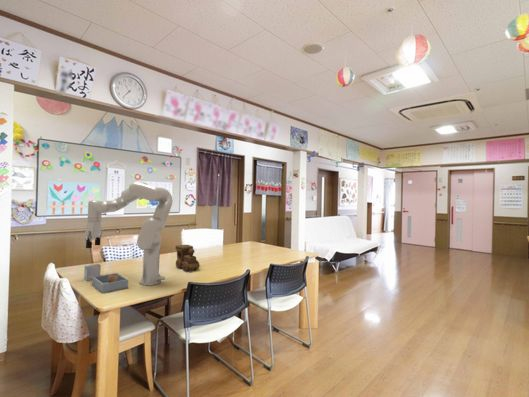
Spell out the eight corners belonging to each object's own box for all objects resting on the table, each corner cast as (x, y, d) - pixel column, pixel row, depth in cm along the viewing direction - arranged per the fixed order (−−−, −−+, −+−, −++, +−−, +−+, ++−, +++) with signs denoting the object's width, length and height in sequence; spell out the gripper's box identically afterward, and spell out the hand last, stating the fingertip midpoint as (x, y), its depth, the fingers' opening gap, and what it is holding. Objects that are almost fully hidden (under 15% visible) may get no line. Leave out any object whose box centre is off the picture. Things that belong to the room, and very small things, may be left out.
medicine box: (97, 276, 181) (98, 263, 181) (100, 278, 178) (100, 264, 178) (83, 279, 175) (84, 265, 174) (86, 280, 172) (86, 267, 172)
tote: (92, 285, 164) (92, 277, 164) (116, 280, 174) (116, 272, 174) (102, 293, 152) (102, 284, 152) (127, 288, 162) (128, 279, 162)
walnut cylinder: (118, 286, 163) (119, 274, 163) (115, 289, 158) (116, 277, 158) (109, 286, 162) (110, 274, 162) (106, 289, 157) (106, 276, 157)
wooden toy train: (173, 267, 212) (174, 245, 211) (186, 264, 220) (187, 244, 220) (187, 273, 198) (188, 249, 198) (200, 270, 206) (201, 248, 206)
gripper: (96, 218, 184) (94, 243, 184) (80, 220, 167) (78, 249, 167) (107, 218, 184) (106, 244, 185) (92, 221, 167) (91, 249, 167)
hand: (93, 246), depth 176 cm, fingers open, 9 cm apart
